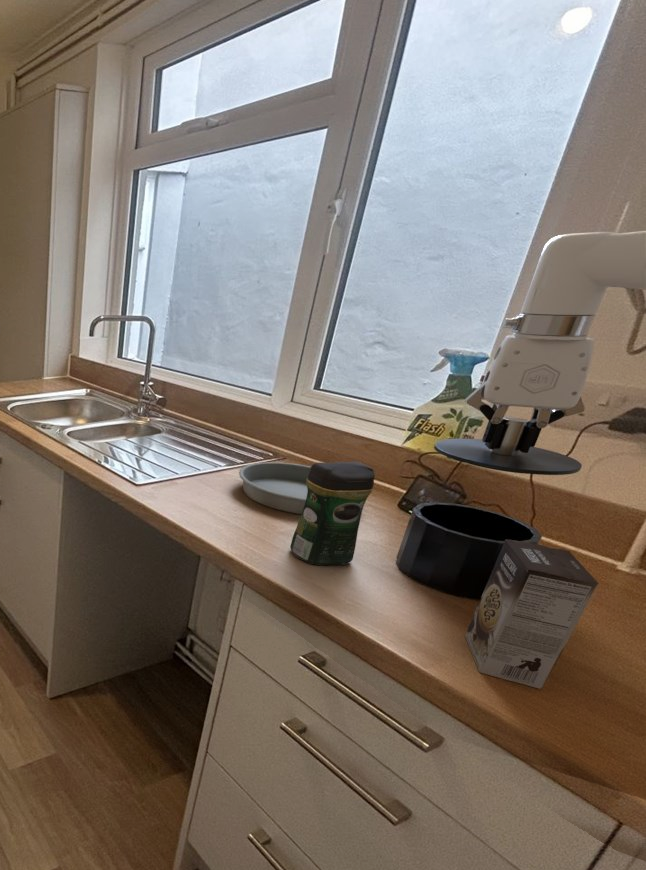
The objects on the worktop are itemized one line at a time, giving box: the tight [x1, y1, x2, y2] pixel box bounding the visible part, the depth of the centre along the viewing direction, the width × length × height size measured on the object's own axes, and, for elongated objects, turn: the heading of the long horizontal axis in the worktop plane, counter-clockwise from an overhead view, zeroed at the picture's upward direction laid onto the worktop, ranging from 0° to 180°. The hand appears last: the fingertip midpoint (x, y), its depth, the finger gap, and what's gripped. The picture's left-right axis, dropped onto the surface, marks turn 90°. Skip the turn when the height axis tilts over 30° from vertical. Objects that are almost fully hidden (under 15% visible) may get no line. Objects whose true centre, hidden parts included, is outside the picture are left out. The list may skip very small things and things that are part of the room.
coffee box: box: [464, 539, 599, 690], centre depth 68 cm, size 9×6×16 cm
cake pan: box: [238, 461, 311, 515], centre depth 123 cm, size 25×25×4 cm
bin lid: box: [433, 416, 583, 476], centre depth 82 cm, size 17×17×7 cm
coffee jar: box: [289, 461, 376, 566], centre depth 95 cm, size 10×8×19 cm
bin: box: [396, 501, 543, 601], centre depth 90 cm, size 16×16×10 cm
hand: (505, 447), depth 83 cm, fingers closed on bin lid, 3 cm apart
